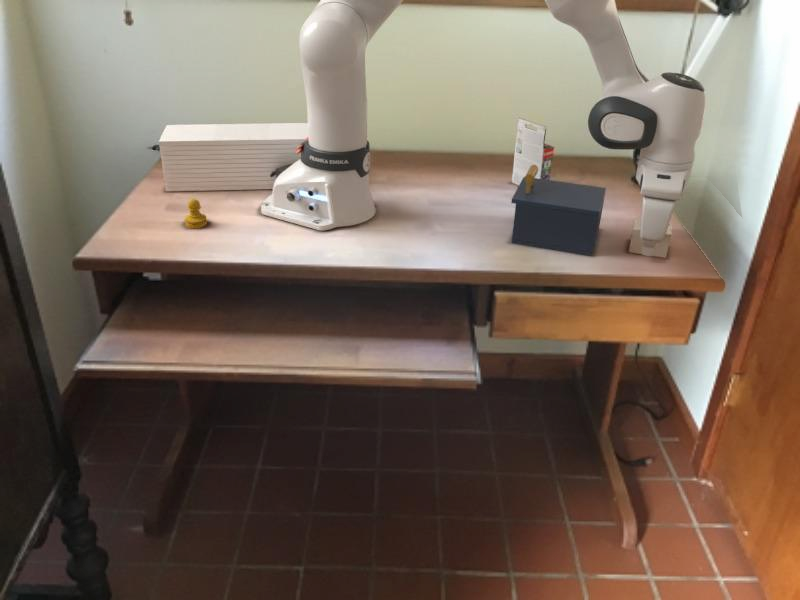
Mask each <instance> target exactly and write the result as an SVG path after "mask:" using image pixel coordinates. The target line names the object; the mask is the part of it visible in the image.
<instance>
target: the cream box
mask: <svg viewBox="0 0 800 600" xmlns="http://www.w3.org/2000/svg"><path fill="white" fill-rule="evenodd" d="M640 229H641V218H640V219H639V218H635V219H634V221H633V227H632V232H631V237H630V240H629V241H630V242H629V248H628V253H632V254H639V255H643V254H642V250H643V245H644V240H641V237H640ZM672 229H673V224H672V223H669V225H668V228H667V231H666V234H665V236H664V238H663V240H662V242H660V243H656V244H655V247H654V250H653V255H652V256H651V257H657V258H662V259H667V256H668V251H669V247H670V244H671V243H670V242H671V239H672Z"/></svg>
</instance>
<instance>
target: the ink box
mask: <svg viewBox="0 0 800 600" xmlns="http://www.w3.org/2000/svg"><path fill="white" fill-rule="evenodd" d="M527 126H532V127H533V128H536V129H537V130H536V129H532V128H530V127H527ZM546 133H547V126H546V125H543V124H539V123H536V122H533V121H531V120H527V119H524V118H521V117H519V118H518V122H517V129H516V138H515V139H516V140H515V144H514V145H515V146H514V153H513V154H514V155H513V164H512V166H513V167H512V175H511V176H512V177H511V183H512V184H513V185H516V186H517V187H519V185H520V183H521V181H522V179H523V177H525V176H526V174H527V172H528V170H529V168H530V166H532V165H536V166H537V167H538V172H537V174H536V176H535V178H537V179H544V180H551V175H552V167H553V159H554V151H555V146H553V145H550V144H548V143H545V141H546V135H547V134H546Z"/></svg>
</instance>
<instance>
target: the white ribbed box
mask: <svg viewBox="0 0 800 600" xmlns="http://www.w3.org/2000/svg"><path fill="white" fill-rule="evenodd" d="M307 137H308V122H286V123H285V122H283V123H282V122H281V123H280V122H278V123H277V122H275V123H273V122H272V123H269V122H268V123H208V124H207V123H205V124H200V123H198V124H195V123H194V124H166V125H165V128H164V129H163V132H162V134H161V136H160V138H159V140H158V145H159V146H160V149H159V154H160V159H161V164H162V165H161V169H162V173H163V174H162V175H163V180H164V186H165V192H200V191H205V192H206V191H244V190H246V191H247V190H250V191H251V190H273V186H274V182H275V180H276V175H274V176H273V177H271V176H270V175H271V173H272V172H274V171H276V169H277V168H280V167H283V166H286V165H289V164H292V163H293V164H294V163H295V162H297V161H298V160H299V159H301V152H300V153H299V154H296V153H297V151H298V150H299V149H298V150H296V149H297V148H298V147H299V146H300V144H301V143H303V142H304V141H306V138H307Z"/></svg>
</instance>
